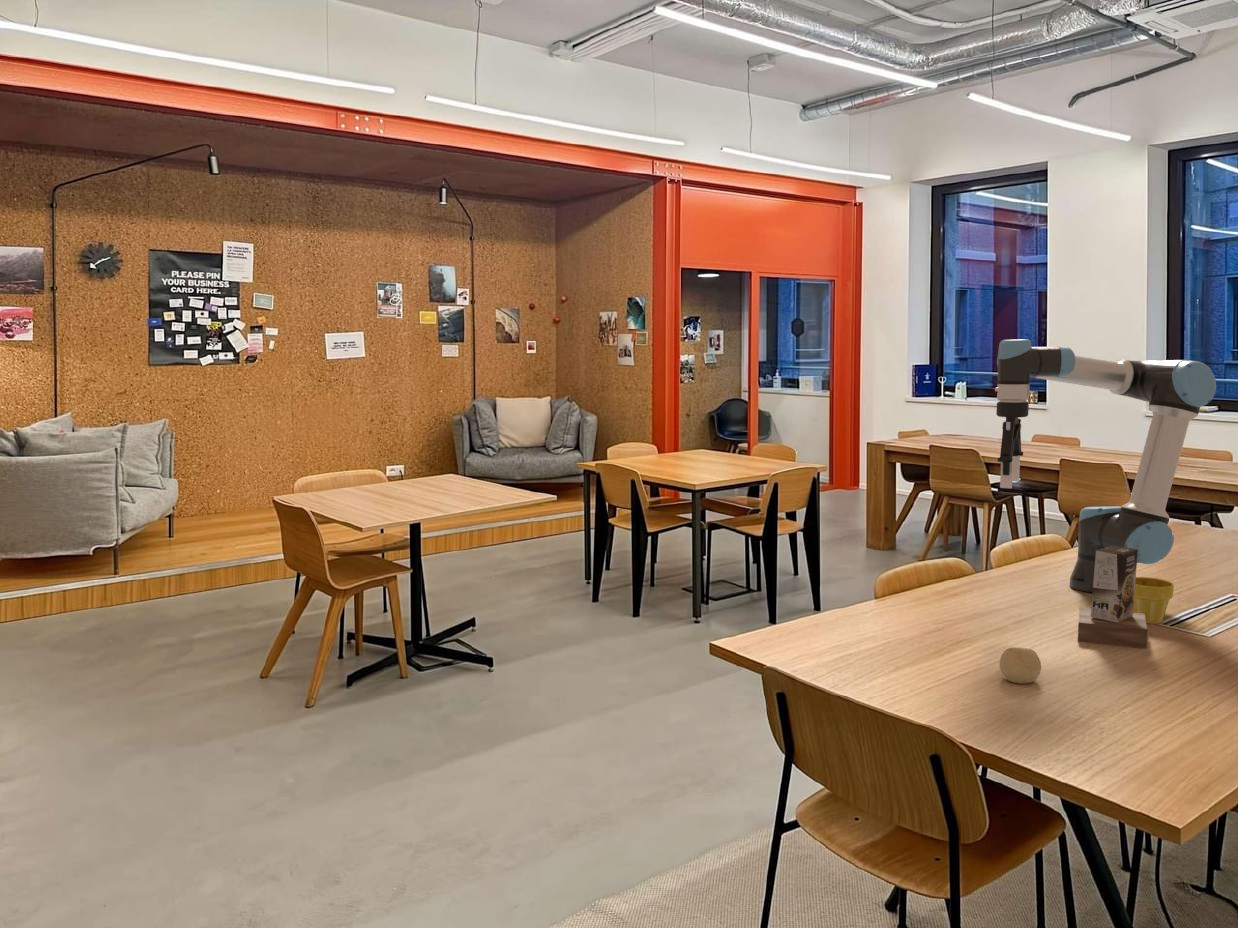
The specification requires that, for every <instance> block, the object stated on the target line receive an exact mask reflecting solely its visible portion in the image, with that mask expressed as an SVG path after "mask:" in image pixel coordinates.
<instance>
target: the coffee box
mask: <svg viewBox="0 0 1238 928" xmlns="http://www.w3.org/2000/svg"><path fill="white" fill-rule="evenodd" d="M1137 555H1138V549H1132V548H1125V547H1115V546H1109V547H1106V548H1102V549H1099V550H1096V556H1095V569H1094V581H1093V593H1092V596H1091V597H1092V598H1091V608H1090V609H1091V617H1092V618H1097V619H1102V620H1106V621H1111V622H1115V623H1118V622H1120V621H1122V620H1125V619H1127V618H1129V617H1132V616H1133V608H1134V594H1135V580H1136V577H1137V567H1138V566H1137V565H1138V563H1137Z"/></svg>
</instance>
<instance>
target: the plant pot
mask: <svg viewBox="0 0 1238 928" xmlns="http://www.w3.org/2000/svg"><path fill="white" fill-rule="evenodd" d="M1173 597H1174V583H1173V582H1171V581H1169V580H1165V579H1162V578H1157V577H1156V578H1155V577H1150V576H1149V577H1147V576H1136V580H1135V594H1134V608H1133V613H1143V614H1145V619H1146V624H1150V625H1151V624H1152V625H1154V624H1155V625H1157V624H1161V623H1163V620H1164V619H1165V618H1164V617H1165V614H1166V612H1167V608H1168V605H1169V603H1170V600H1171V599H1172V598H1173Z"/></svg>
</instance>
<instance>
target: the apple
mask: <svg viewBox="0 0 1238 928" xmlns="http://www.w3.org/2000/svg"><path fill="white" fill-rule="evenodd" d="M1040 659H1041V658H1040V657H1039V655H1038V653H1037V652H1036V651H1035V650H1033V649H1032V648H1025V647H1008V648H1006V649H1005V650H1004V651H1003V652H1002V654H1001V656H1000V658H999V669H1000V672H1001V674H1002V676H1003V677H1004V678H1005V679H1006V680H1007V681H1009V682H1010V683H1015V684H1020V685H1021V684H1031V683H1033V682H1034V681H1037V679H1038V678H1039V676H1040V675H1041V672H1042V663H1041V660H1040Z"/></svg>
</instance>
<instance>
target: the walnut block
mask: <svg viewBox="0 0 1238 928" xmlns="http://www.w3.org/2000/svg"><path fill="white" fill-rule="evenodd" d="M1077 623H1078V624H1077V625H1078V629H1077V642H1078V643H1079V642H1080V643H1088V644H1090V643H1091V644H1097V645H1099V644H1100V645H1107V646H1108V645H1109V646H1118V647H1128V648H1135V649H1136V648H1137V649H1144V650H1147V645H1148V644H1147V641H1148V640H1147V639H1148V625H1147V623H1146V619H1145V614H1143V613H1133V616H1132V617H1129V618H1127V619H1125V620H1122V621H1120V622H1118V623H1115V622H1111V621H1106V620H1102V619H1097V618H1092V617H1091V608H1086V607H1079V610H1078V622H1077Z"/></svg>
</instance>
